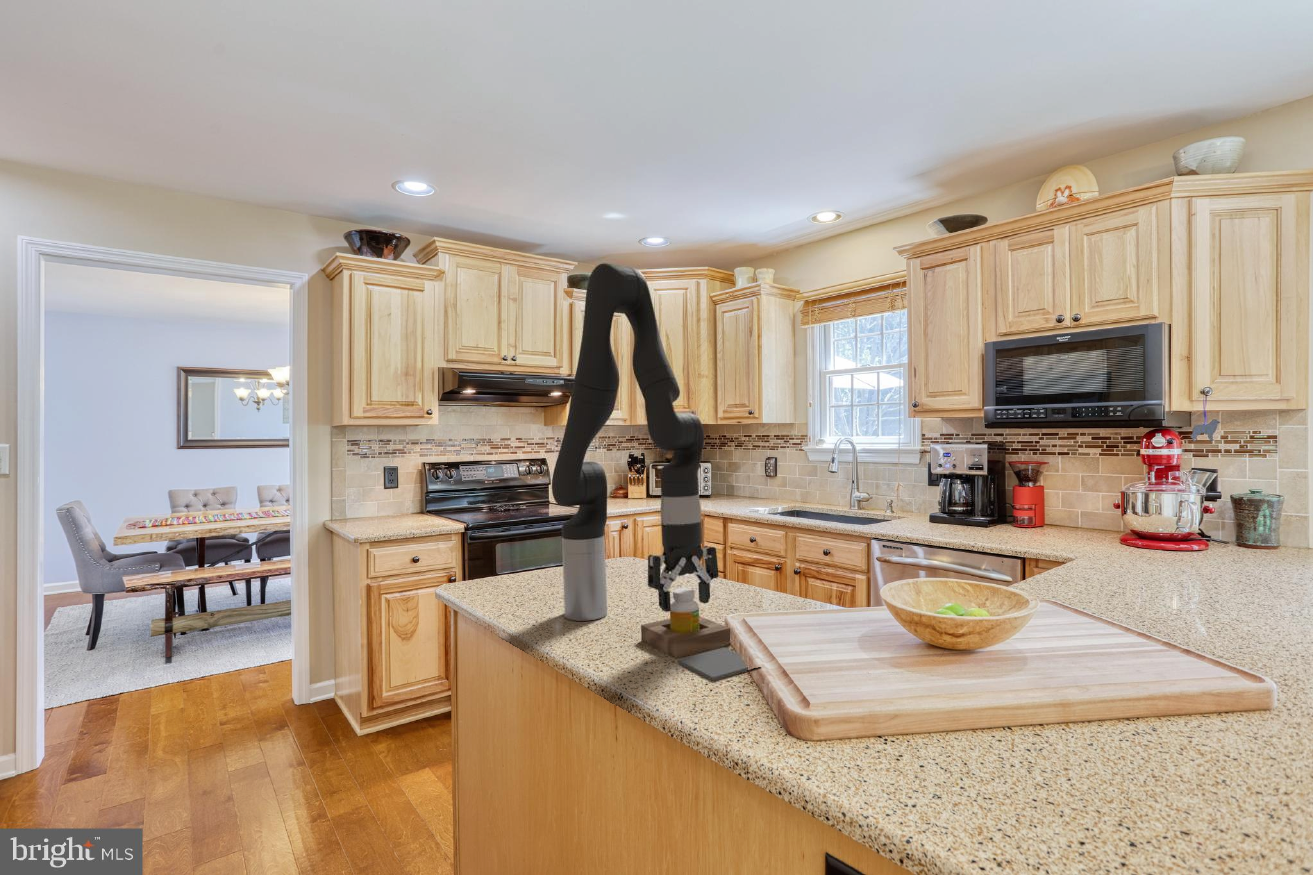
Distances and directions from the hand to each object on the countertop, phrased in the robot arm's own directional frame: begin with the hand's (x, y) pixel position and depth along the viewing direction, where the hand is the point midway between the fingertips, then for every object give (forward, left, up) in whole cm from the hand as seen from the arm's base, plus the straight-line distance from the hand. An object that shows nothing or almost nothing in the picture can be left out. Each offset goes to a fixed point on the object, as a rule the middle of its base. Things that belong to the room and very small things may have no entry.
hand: (685, 606), depth 123 cm
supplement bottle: (0, 0, -7) cm, 7 cm away
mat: (+13, -2, -7) cm, 14 cm away
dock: (0, 0, -7) cm, 7 cm away
